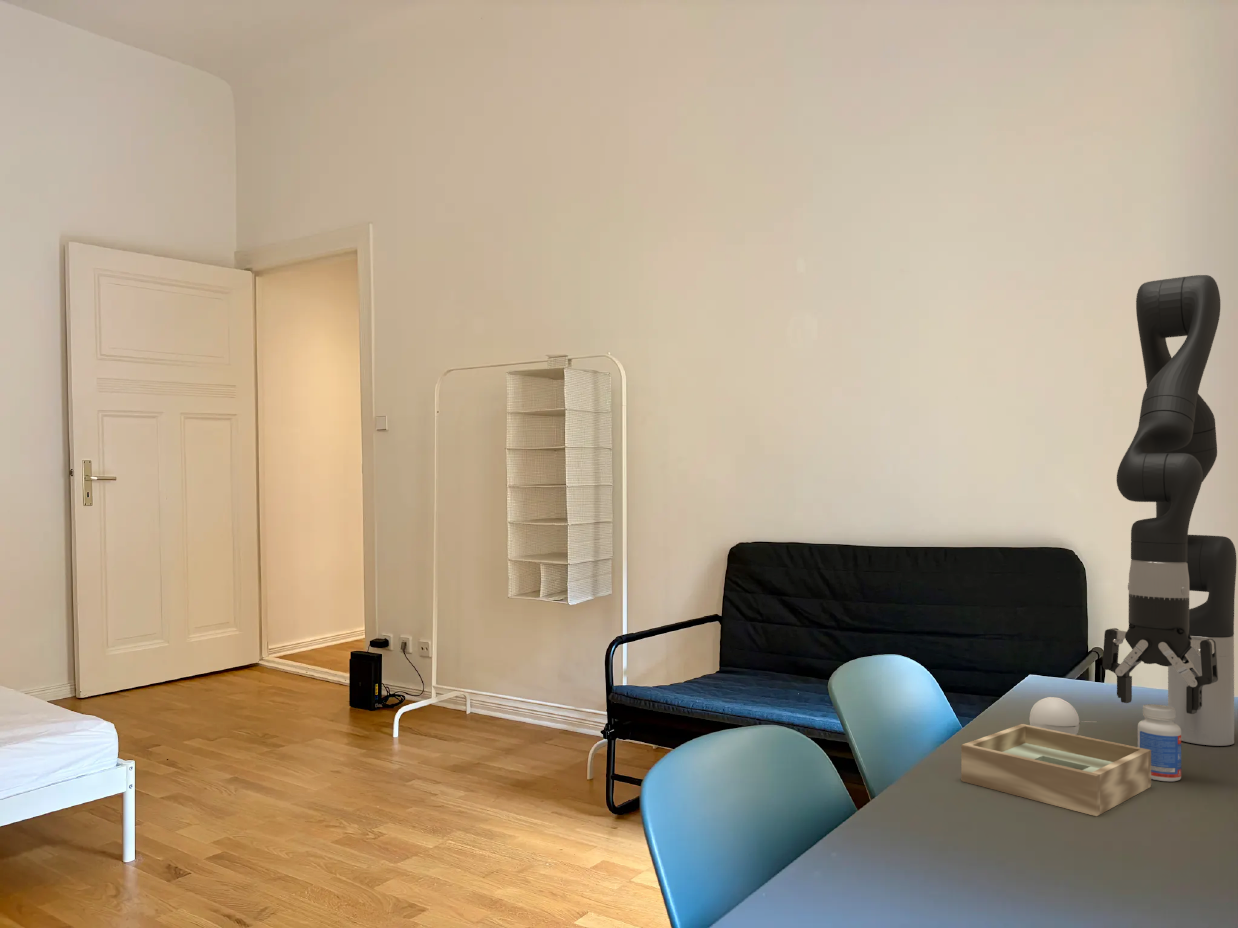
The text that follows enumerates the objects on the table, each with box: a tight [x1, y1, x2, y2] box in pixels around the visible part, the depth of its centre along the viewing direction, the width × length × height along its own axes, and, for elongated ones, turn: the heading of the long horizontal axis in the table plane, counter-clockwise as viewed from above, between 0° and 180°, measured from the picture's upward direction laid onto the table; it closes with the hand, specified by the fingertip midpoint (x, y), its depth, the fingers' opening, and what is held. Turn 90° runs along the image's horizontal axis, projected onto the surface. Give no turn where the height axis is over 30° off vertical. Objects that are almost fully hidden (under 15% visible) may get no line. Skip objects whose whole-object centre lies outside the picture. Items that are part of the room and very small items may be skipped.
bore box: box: [960, 723, 1152, 817], centre depth 130 cm, size 18×18×5 cm
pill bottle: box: [1137, 703, 1182, 782], centre depth 134 cm, size 6×5×10 cm
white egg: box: [1029, 696, 1098, 735], centre depth 149 cm, size 10×7×7 cm
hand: (1158, 707), depth 133 cm, fingers open, 8 cm apart
